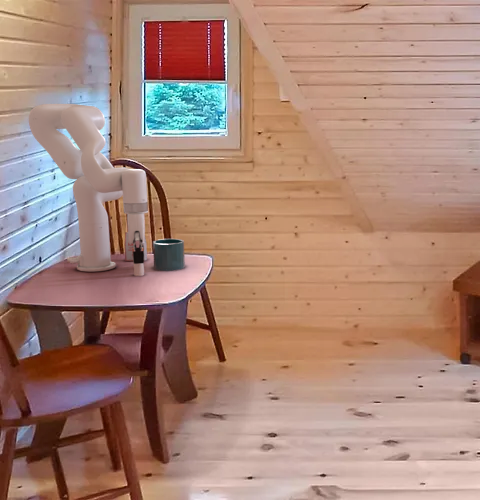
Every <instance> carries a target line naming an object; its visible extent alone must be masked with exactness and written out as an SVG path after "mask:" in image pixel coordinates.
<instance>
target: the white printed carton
mask: <svg viewBox="0 0 480 500" xmlns="http://www.w3.org/2000/svg"><path fill="white" fill-rule="evenodd" d="M142 245H143V249H144V262H145V261H147V260H148V250H147V248H148V247H147V239H146V237H145V239H144V243H143V244H142ZM132 248H133V243H131V245H130V244H129V240H128V231H126V232H124V261H125V262H133V252H132Z"/></svg>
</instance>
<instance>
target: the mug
mask: <svg viewBox="0 0 480 500" xmlns="http://www.w3.org/2000/svg"><path fill="white" fill-rule="evenodd" d="M152 248H153V249H152V251H153V269H154V270H156V271H163V272H168V271H169V272H170V271H179V270H182V269H184V268H185V267H186V257H185V240H183V239H180V238H162V239H157V240H153V241H152Z"/></svg>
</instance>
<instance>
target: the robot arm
mask: <svg viewBox="0 0 480 500" xmlns="http://www.w3.org/2000/svg"><path fill="white" fill-rule="evenodd" d="M105 123H106V119H105V114H104V113H103V112H102V111H101V109H99V108H98V107H97V106H93V105H85V104H77V103H43V104H39V105H36V106H34V107H33V108H32V109H31V110H30V111H29V114H28V125H29V129H30V132H31V134H32V136H33V138H34V139H35V140H36V142H37V143H38V144H39V145H40V146H41V147H42V148H43V149H44V150H45V151H46V152H47V153H48V155H49V156H50V157H51V159H52V161H53V162H54V163H55V164H56V166H57V167H58V168H59V170H60V171H61V172H62V174H63V175H64V176H65V177H66V178H67V179H70V180H75V181H74V182H73V186H72V193H73V197H74V201H75V203H76V204H75V205H76V211H77V221H78V235H79V248H80V250H79V251H80V254H79V255H77V256H76V257H73V256H72V257H71V256H70V257H66V263H67V264H70V265H73V264H77V265H76V270H78V271H80V272H89V273H91V272H93V273H94V272H105V271H109V270H113V269H115V268H116V266H117V264H116V262H115V261H112V259H111V257H112V256H111V242H110V225H109V215H108V212H107V210H106V208H105V207H104V204H103V203H105V202H112V201H117V200H119V199H120V198H122V204H123V205H122V206H123V214H125V215H126V219H127V232H128V240H129V244H130V245H131V243H133V248H134V251H133V261H134V264H141V263H144V264H145V261H144V249H143V250H142V247H143V245H142V244H143V243H144V239H145V238H146V221H145V219H146V218H145V214H148V213H149V203H148V187H147V184H148V183H147V174H146V173H147V172H146V171H145V170H143V169H140V168H128V167H115V166H113V164H112V163H111V162H110V161H109V159H108V158H107V157H106V155H105V154H103V153H102V152H101V151H102V150H103V149H104V148H105V146H106V139H105V137H104V136H103V134H102V133H101V132H100V131H101V130H102V129H103V128H104V127H105ZM59 130H66V132H67V133H68V134H69V136H70V137H71V138H69V137H68V136H67V135H65V134H64V133H63V132H61V131H59ZM71 139H72V140H73V141H72V140H71ZM73 142H74V143H75V144H76V145H75V144H74V143H73ZM76 146H77V147H76ZM133 261H132V262H133ZM134 264H133V265H134Z"/></svg>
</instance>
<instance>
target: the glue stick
mask: <svg viewBox="0 0 480 500" xmlns="http://www.w3.org/2000/svg"><path fill="white" fill-rule="evenodd" d="M142 250H143V247H142ZM133 251H134V248H132V252H133ZM132 263H133V276H134V277H142V276H145V265H144V264H145V262H144V263H141V264H134V261H132Z"/></svg>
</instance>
